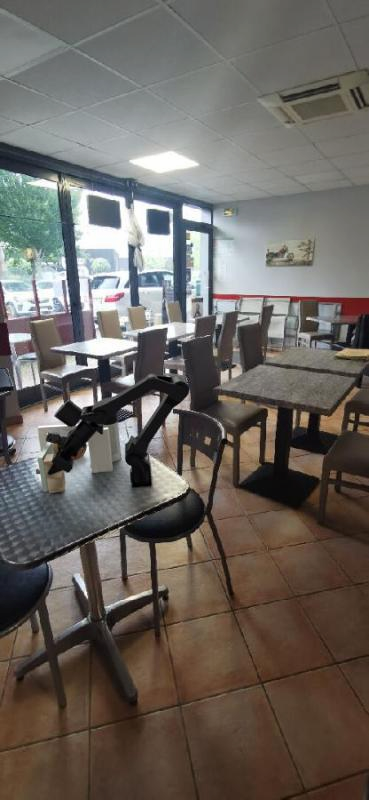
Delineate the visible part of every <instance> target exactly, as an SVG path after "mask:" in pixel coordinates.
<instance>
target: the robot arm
mask: <svg viewBox="0 0 369 800" xmlns="http://www.w3.org/2000/svg"><path fill="white" fill-rule="evenodd" d="M151 391H158V392H160V393H162V394H163V398H162V400H161V401H160V403H159V404H158V406H157V407H156V409H155V410H154V412H153V413H152V415H151V416H150V418H149V420H147V422H146V424H145V425H144V427H143V428H142V430H141V432H140V433H139V434H137V436H134V435H131V436H130V437H129V439H128V441H127V442H126V443H125V444H124V460H125V463H126V465H128V466H130V467H131V468H130V469H129V478H130V483H131V488H146V487H147V488H149V487H151V488H152V487H153V475H152V473H153V472H152V463H151V462H150V461H151V460H150V459H151V458H150V454H149V453H148V452H147V451H148V448H149V446H150V443H151V442H152V441H153V439H154V437H155V436H156V434H157V433H158V431H159V430H160V428H161V427H162V426H163V424H164V422H166V420H167V419H168V417H169V415H170V413H171V412H172V411H173V409H174V408H176V407H177V406H178V405H180V404H182V402H183V401H184V400H185V399H186V398H187V397H188V396H189V395H190V386H189V385H188V383H187V381H186V379H185V378H184V377H183V376H179V375H176V376H173V377H172V376H168V375H158V374H154V373H150V374H149V373H148V375H146V377H144V378H142V379H140V380H138V381H137V382H136V383H134V384H133V385H132V384H131V386H129V387H127V388H126V389H124V390H122V391H121V392H119V393H118V394H116V395H112V396H109V397H106V398H103V399H101V400H98V401H96V402H95V403H94V404H92V405H87V406H83V407H82V408H81V407H80V406H78V405H77V404H76V403H74V401H72V400H71V399H69V398H68V399H67V401H65V402H64V403H63V404H61V406H59V408H58V409H57V410H56V412H55V413H54V415H53V417H54V418H56V419H57V420H58V421H60V422H61V423H63V425H67V426H68V427H72V426H75V425H76V424H78V425H77V426H76V427H75V429H74V430H73V429H72V430H70V431H69V432H66V431H64V430H61V429H58V428H55V427H50V429H49V431H48V433H47V437H46V441H47V442H50V443H52V444H58V445H57V446H58V452H56V454H54V455H53V458H52V463H53V464H52V466H51V468H50V469H49V471H48V473H47V474H48V475H52V474H55V473H57V472H60V471H62V470H64V473H70V471H72V470H73V468H74V465H75V460H73V459H72V458H71V457H72V456H74V457H76V456H77V455H78V452H79V451H80V450H81V449H82V447H83V448H84V447H85V446H86V444H88V441H89V439H90V438H91V437H92V436H93V435H94V434H95V433H96V432H98V433H100V434H101V435H103V432H104V428H103V425H104V424H105V423H107V422H108V421H109V420H110V419H111V418H112V417H114V416H115V414H116V413H117V414H118V413H119V411H120V410H122V409H123V408H124V407H126V406H128V405H129V404H131V403H133V402H134V401H136V400H137V399H140V398H141V397H143V396H144V395H146V394H148V393H149V392H151Z"/></svg>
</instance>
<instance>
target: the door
mask: <svg viewBox="0 0 369 800" xmlns="http://www.w3.org/2000/svg"><path fill="white" fill-rule="evenodd" d="M47 454H54V451H53V443H50V442H47V444H46V445H45V447H44V448H43V450H42V452H41V451H40V453H39V455H38V456H37V463H38V468H37V469H35V474H36V475H40V481H41V486H42V491H43V492H49V490H48V484H47V478H46V473H45V467H44V460H45V457H46V455H47Z"/></svg>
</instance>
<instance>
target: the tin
mask: <svg viewBox="0 0 369 800" xmlns="http://www.w3.org/2000/svg"><path fill="white" fill-rule="evenodd" d="M52 444H53V443H52ZM87 444H88V443H86V446H85V447H84V448H83V447H82V449H81V450H80V451H79V452H78V455H77V456H76V457H74V456H72V457H71V458H72V459H73V460H74V461H75V460H79V459H81V458H82V457H83V456H84V455H85V454H86V452H87V447H88V445H87ZM57 445H58V444H53V451H54V454H56V452H58V446H57Z"/></svg>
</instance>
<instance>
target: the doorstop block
mask: <svg viewBox="0 0 369 800" xmlns="http://www.w3.org/2000/svg"><path fill="white" fill-rule="evenodd" d="M53 455H54V454H47V455H46V457H45V460H44V467H45V473H46V478H47V484H48V493H49V494H51V493H60V492H64V491H65V488H66V486H67V481H66V474H65V471H64V470H62V471H60V472H57V473H55V474H52V475H48V474H47V473H48V471H49V469H50V468H51V466H52V464H53V463H52V458H53Z"/></svg>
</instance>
